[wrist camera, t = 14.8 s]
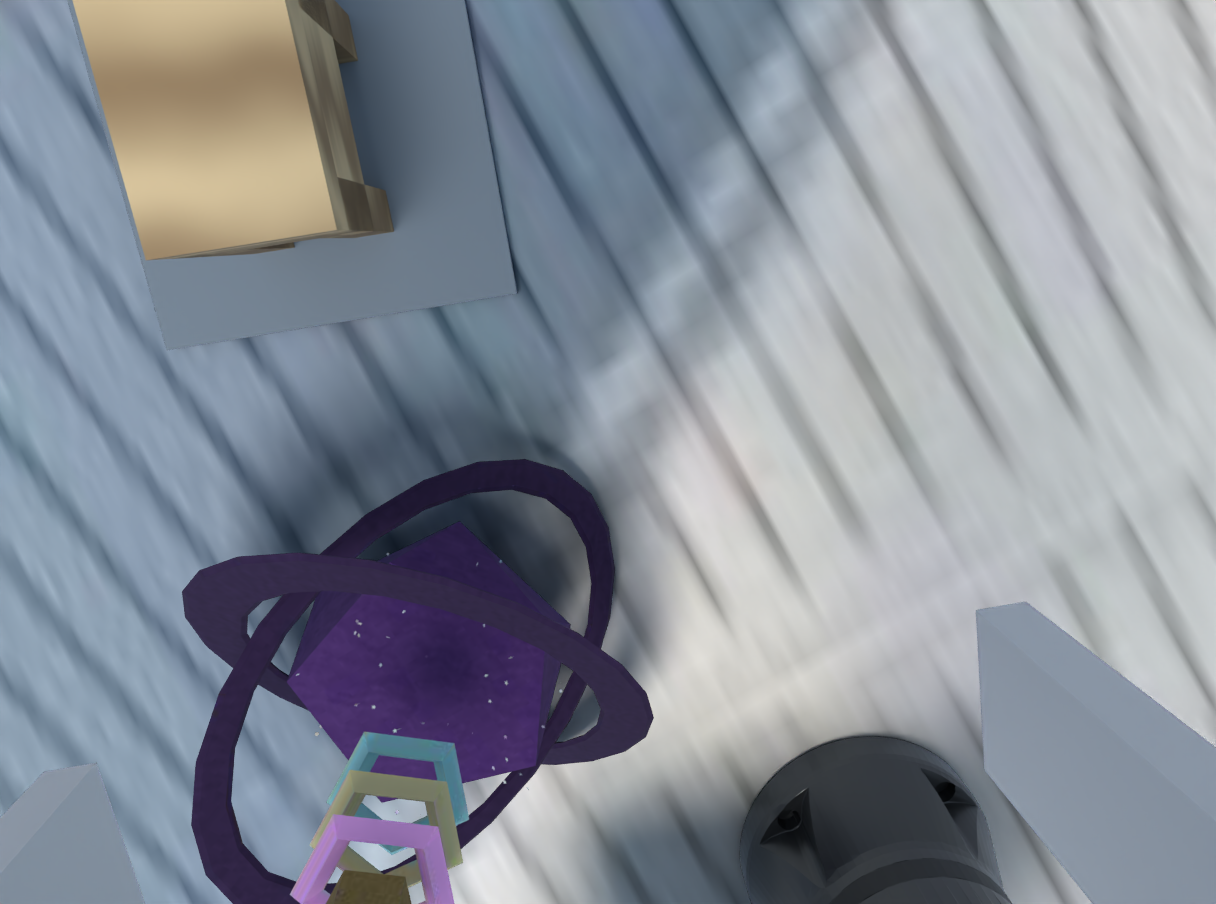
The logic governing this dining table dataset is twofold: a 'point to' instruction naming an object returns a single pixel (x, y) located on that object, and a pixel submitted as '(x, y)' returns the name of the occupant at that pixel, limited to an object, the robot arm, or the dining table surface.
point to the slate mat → (390, 160)
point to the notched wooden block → (231, 122)
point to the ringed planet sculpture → (407, 686)
